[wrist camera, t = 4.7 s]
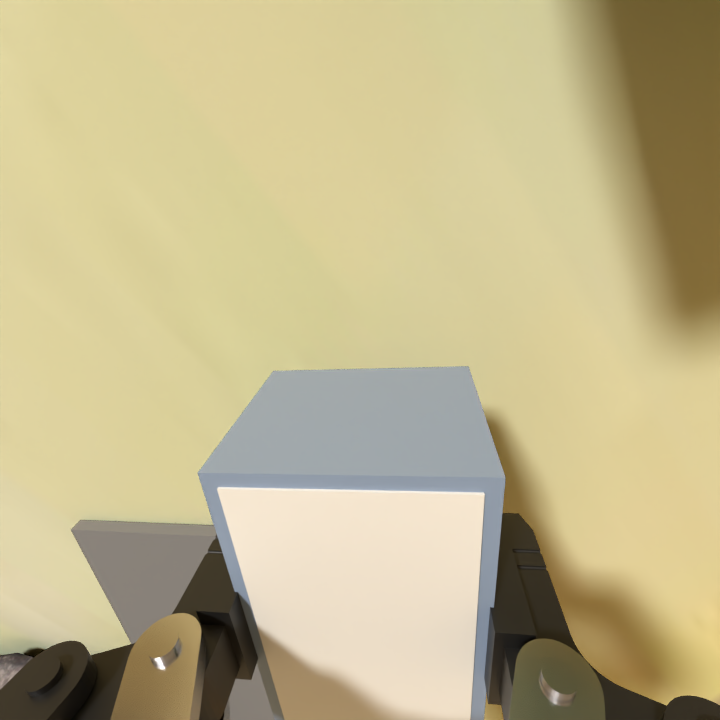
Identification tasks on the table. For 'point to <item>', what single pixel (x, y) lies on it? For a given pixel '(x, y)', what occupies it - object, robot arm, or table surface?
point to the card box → (363, 540)
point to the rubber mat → (157, 584)
